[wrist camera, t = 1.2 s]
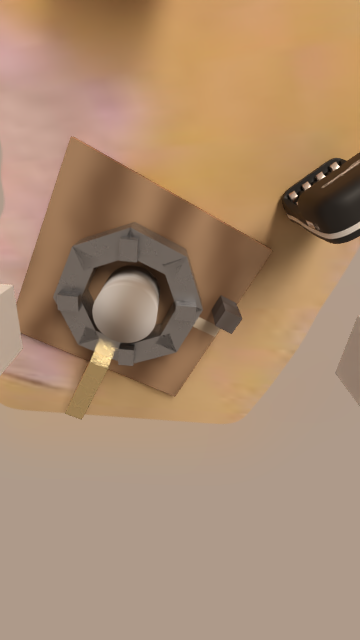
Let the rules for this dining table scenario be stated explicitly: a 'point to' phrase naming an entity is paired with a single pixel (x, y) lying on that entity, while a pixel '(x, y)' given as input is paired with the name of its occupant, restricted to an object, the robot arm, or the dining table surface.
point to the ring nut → (78, 302)
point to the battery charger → (328, 201)
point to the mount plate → (134, 265)
